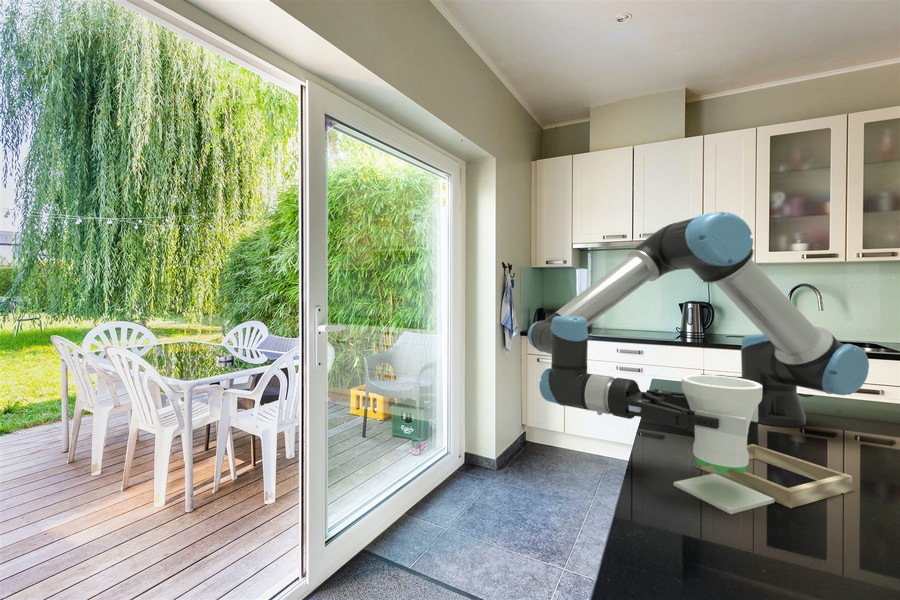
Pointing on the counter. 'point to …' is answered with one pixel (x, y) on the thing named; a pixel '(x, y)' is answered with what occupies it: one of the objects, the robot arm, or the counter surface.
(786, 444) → the counter surface
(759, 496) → the felt mat
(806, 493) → the birch frame
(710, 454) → the cup
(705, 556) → the counter surface
